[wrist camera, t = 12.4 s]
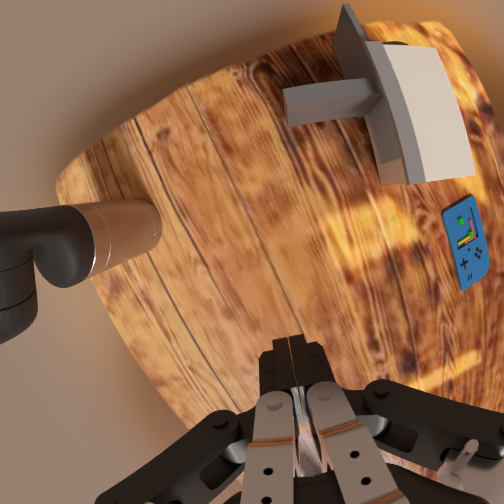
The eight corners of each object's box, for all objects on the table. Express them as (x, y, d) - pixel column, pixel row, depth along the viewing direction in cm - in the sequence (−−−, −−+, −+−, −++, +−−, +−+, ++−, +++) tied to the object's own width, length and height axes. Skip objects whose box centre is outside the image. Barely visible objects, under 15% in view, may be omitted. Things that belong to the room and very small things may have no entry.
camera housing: (369, 187, 37) (409, 184, 23) (338, 77, 34) (358, 27, 20) (424, 178, 35) (479, 175, 21) (394, 73, 32) (430, 32, 18)
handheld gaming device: (462, 292, 37) (442, 213, 35) (459, 290, 38) (439, 213, 36) (492, 270, 35) (474, 194, 34) (489, 269, 36) (471, 194, 35)
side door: (288, 129, 36) (287, 102, 25) (266, 56, 34) (257, 13, 22) (362, 117, 34) (388, 89, 23) (336, 46, 32) (348, 3, 20)
